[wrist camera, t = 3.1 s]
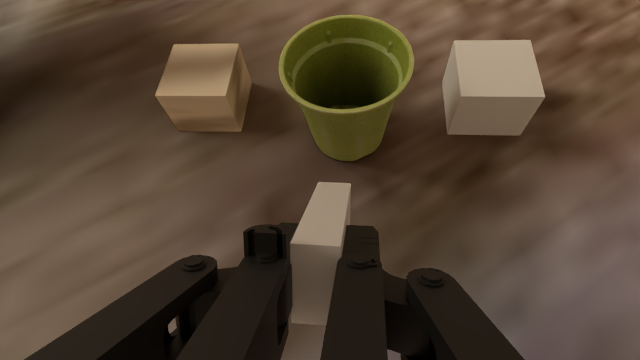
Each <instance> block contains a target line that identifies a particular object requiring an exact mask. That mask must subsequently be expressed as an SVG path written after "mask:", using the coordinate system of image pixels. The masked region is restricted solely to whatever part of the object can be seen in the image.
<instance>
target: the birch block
mask: <svg viewBox="0 0 640 360" xmlns="http://www.w3.org/2000/svg"><path fill="white" fill-rule="evenodd" d="M251 85H252V81H251V78H250V75H249V72H248V69H247V66H246V63H245V60H244V57H243V54H242V51H241V48H240V46H239V44H174V45H173V48H172V51H171V53H170V56H169V59H168V62H167V64H166V67H165V70H164V72H163V75H162V78H161V80H160V83H159V86H158V89H157V91H156V94H155V97H156V98H157V100H158V101H159V103H160V104H161V105H162V107H163V108H164V110H165V111H166V113H167V114H168V116H169V117H170V119H171V120H172V122H173V123H174V125H175V126H176V127H177V129H178V130H179V131H211V132H241V131H242V127H243V122H244V117H245V113H246V108H247V104H248V99H249V94H250V90H251Z"/></svg>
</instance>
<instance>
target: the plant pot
mask: <svg viewBox="0 0 640 360" xmlns="http://www.w3.org/2000/svg"><path fill="white" fill-rule="evenodd" d="M413 70H414V54H413V51H412V48H411V45H410V43H409V42H408V40H407V39H406V37H405V36H404V35H403V34H402V33H401V32H400V31H399V30H397V29H396V28H394V27H393V26H391V25H389V24H387V23H386V22H383V21H382V20H379V19H376V18H372V17H368V16H362V15H338V16H332V17H328V18H325V19H321V20H318V21H316V22H313V23H311V24H309V25H307V26H305V27H304V28H302V29H301V30H299V31H298V32H297V33H296V34H295V35H294V36H292V37H291V39H290V40H289V41H288V42H287V44H286V45H285V47H284V49H283V51H282V53H281V56H280V59H279V75H280V79H281V82H282V85H283V87H284V89H285V90H286V92H287V93H288V94H289V95H290V97H291V98H292V99H293V100H295V101H296V102H297V103H298V104H299V105H300V107H301V109H302V111H303V113H304V115H305V118H306V120H307V122H308V125H309V127H310V130H311V132H312V135H313V137H314V140H315V142H316V144H317V146H318V147H319V148H320V150H321V151H322V152H323V153H324V154H326V155H327V156H329V157H331V158H333V159H336V160H341V161H354V160H358V159H360V158H362V157H364V156H366V155H368V154H371V153H373V152H374V151H375V150H376V149H377V147H378V146H379V145H380V143H381V141H382V138H383V135H384V132H385V128H386V125H387V122H388V119H389V116H390V113H391V110H392V107H393V104H394V102H395V100H396V99H397V97H398V96H399V95H400V94H401V93H402V92H403V91H404V89H405V88H406V86H407V85H408V83H409V81H410V79H411V77H412V74H413Z"/></svg>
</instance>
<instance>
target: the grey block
mask: <svg viewBox="0 0 640 360" xmlns="http://www.w3.org/2000/svg"><path fill="white" fill-rule="evenodd" d="M442 85H443V96H444V106H445V116H446V126H447V134H458V135H515V136H520V135H521V133H522V132H523V130H524V129H525V127H526V126H527V124H528V123H529V121H530V120H531V118H532V117H533V115H534V114H535V112H536V111H537V109H538V107H539V106H540V104H541V103H542V101H543V100H544V98H545V94H544V90H543V86H542V82H541V79H540V75H539V71H538V67H537V63H536V60H535V56H534V52H533V48H532V45H531V41H530V40H463V41H454V43H453V46H452V50H451V53H450V57H449V60H448V64H447V67H446V71H445V74H444V78H443V81H442Z"/></svg>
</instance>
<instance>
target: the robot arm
mask: <svg viewBox="0 0 640 360" xmlns="http://www.w3.org/2000/svg"><path fill="white" fill-rule="evenodd" d="M350 201H351V183H331V182H318V184H317V186H316V188H315V190H314V193H313V195H312V197H311V199H310V201H309V203H308V206H307V208H306V210H305V212H304V214H303V216H302V219H301V221H300V223H280V224H279V225H258V226H253V227H250V228H248V229H246V230H245V231H244V232H243V235H244V253H245V257H244V258H243V260H242V261H241V263H240V264H239V266H238V267H233V268H224V269H217V261H216V260H215V259H214V258H212V257H210V256H203V255H196V256H195V255H191V256H189V257H186V258H183V259H180V260H178V261H176V262H175V263H173V264H172V265H170V266H168V267H167V268H165V269H164V270H162V271H161V272H159V273H158V274H156V275H155V276H153V277H151V278H150V279H148V280H147V281H145V282H144V283H142V284H141V285H139V286H137V287H136V288H134V289H133V290H131V291H130V292H128V293H127V294H125V295H124V296H122V297H120V298H119V299H117V300H116V301H114V302H113V303H111V304H110V305H108V306H107V307H105V308H103V309H102V310H100V311H99V312H97V313H96V314H94V315H93V316H91V317H89V318H88V319H86V320H85V321H83V322H82V323H80V324H79V325H77V326H76V327H74V328H72V329H71V330H69V331H68V332H66V333H65V334H63V335H62V336H60V337H58V338H57V339H55V340H54V341H52V342H51V343H49V344H48V345H46V346H45V347H43V348H41V349H40V350H38V351H37V352H35V353H34V354H32V355H31V356H29V357H27V358H26V359H24V360H280V359H281V356H282V353H283V349H284V346H285V343H286V339H287V336H288V318H289V315H290V312H291V321H292V323H300V324H312V325H324V326H326V330H325V336H324V341H323V347H322V353H321V359H320V360H388V356H387V349H389V350H392V351H395V352H398V353H401V360H524V359H523V357H522V356H521V355H520V354H519V353H518V352H517V350H516V349H515V348H514V347H513V346H512V345H511V344H510V342H509V341H508V340H507V339H506V338H505V337H504V335H503V334H502V333H501V332H500V331H499V330H498V329H497V327H496V326H495V325H494V324H493V323H492V322H491V320H490V319H489V318H488V317H487V316H486V315H485V314H484V312H483V311H482V310H481V309H480V308H479V307H478V305H477V304H476V303H475V302H474V301H473V300H472V299H471V297H470V296H469V295H468V294H467V293H466V292H465V290H464V289H463V288H462V287H461V286H460V285H459V284H458V282H457V281H456V280H455V279H454V278H453V277H451V276H450V275H449V274H447V273H445V272H442V271H440V270H437V269H433V268H421V269H415V270H413V271H411V272H409V273H408V275H407V279H402V278H399V277H395V276H393V275H391V274H388V273H387V272H386V271H384V270H383V269H382V264H381V262H380V254H379V237H378V231H377V230H376V229H375V228H374V227H373V226H356V225H350ZM174 318H176V326H177V329H175V330H174V331H173V332H172V333H170V334H169V332H168V324H169V323H170V322H171V321H172V320H173V319H174Z"/></svg>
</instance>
